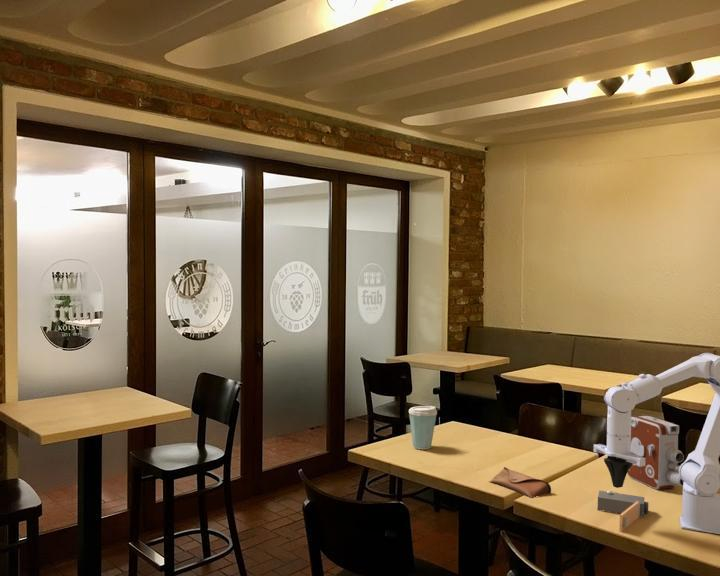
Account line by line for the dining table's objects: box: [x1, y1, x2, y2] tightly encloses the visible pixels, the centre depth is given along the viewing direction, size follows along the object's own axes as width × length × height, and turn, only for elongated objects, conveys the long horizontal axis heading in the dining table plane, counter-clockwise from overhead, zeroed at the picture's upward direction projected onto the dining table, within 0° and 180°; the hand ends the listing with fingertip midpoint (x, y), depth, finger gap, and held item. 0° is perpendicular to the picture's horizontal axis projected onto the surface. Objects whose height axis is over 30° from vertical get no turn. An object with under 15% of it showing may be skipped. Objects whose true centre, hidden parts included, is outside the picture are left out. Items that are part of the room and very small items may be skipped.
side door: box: [619, 501, 641, 532], centre depth 159 cm, size 13×1×4 cm, turn 138°
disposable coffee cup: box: [408, 405, 438, 450], centre depth 229 cm, size 11×11×15 cm
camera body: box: [597, 490, 649, 518], centre depth 169 cm, size 12×6×4 cm, turn 65°
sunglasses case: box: [487, 466, 552, 499], centre depth 187 cm, size 18×7×7 cm
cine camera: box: [627, 415, 685, 490], centre depth 189 cm, size 9×19×20 cm, turn 15°
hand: (617, 486), depth 160 cm, fingers closed
